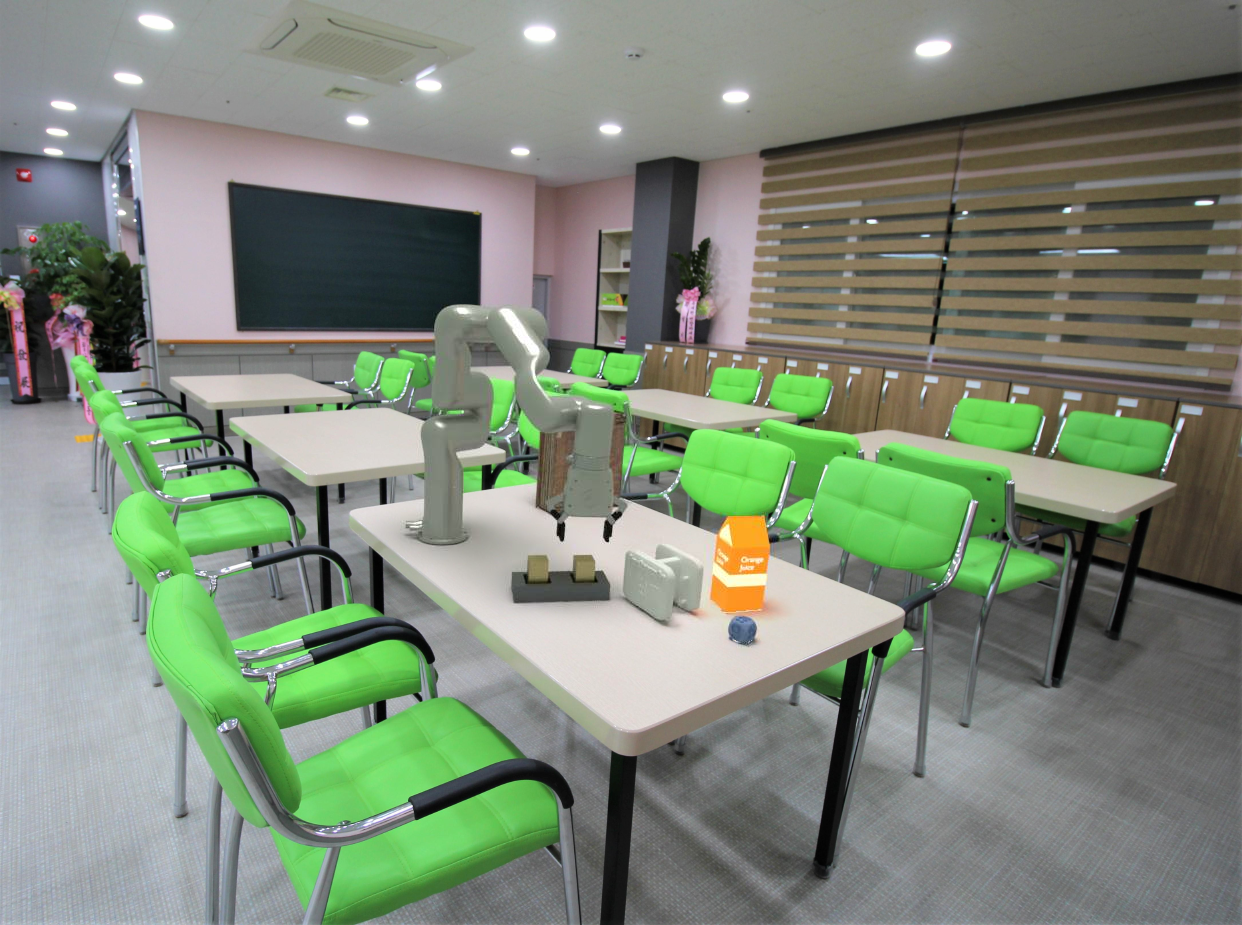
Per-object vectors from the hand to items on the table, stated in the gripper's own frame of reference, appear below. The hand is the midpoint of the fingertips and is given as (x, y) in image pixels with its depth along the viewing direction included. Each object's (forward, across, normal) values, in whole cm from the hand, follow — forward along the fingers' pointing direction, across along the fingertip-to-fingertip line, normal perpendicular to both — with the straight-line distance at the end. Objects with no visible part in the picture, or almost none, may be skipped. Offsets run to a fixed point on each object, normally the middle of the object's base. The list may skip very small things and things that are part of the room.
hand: (583, 539), depth 143 cm
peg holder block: (+12, -4, -1) cm, 13 cm away
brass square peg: (+12, 0, -1) cm, 12 cm away
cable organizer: (+12, +16, -9) cm, 21 cm away
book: (+14, +11, +64) cm, 66 cm away
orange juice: (+11, +33, -9) cm, 36 cm away
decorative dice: (+11, +28, -24) cm, 38 cm away
